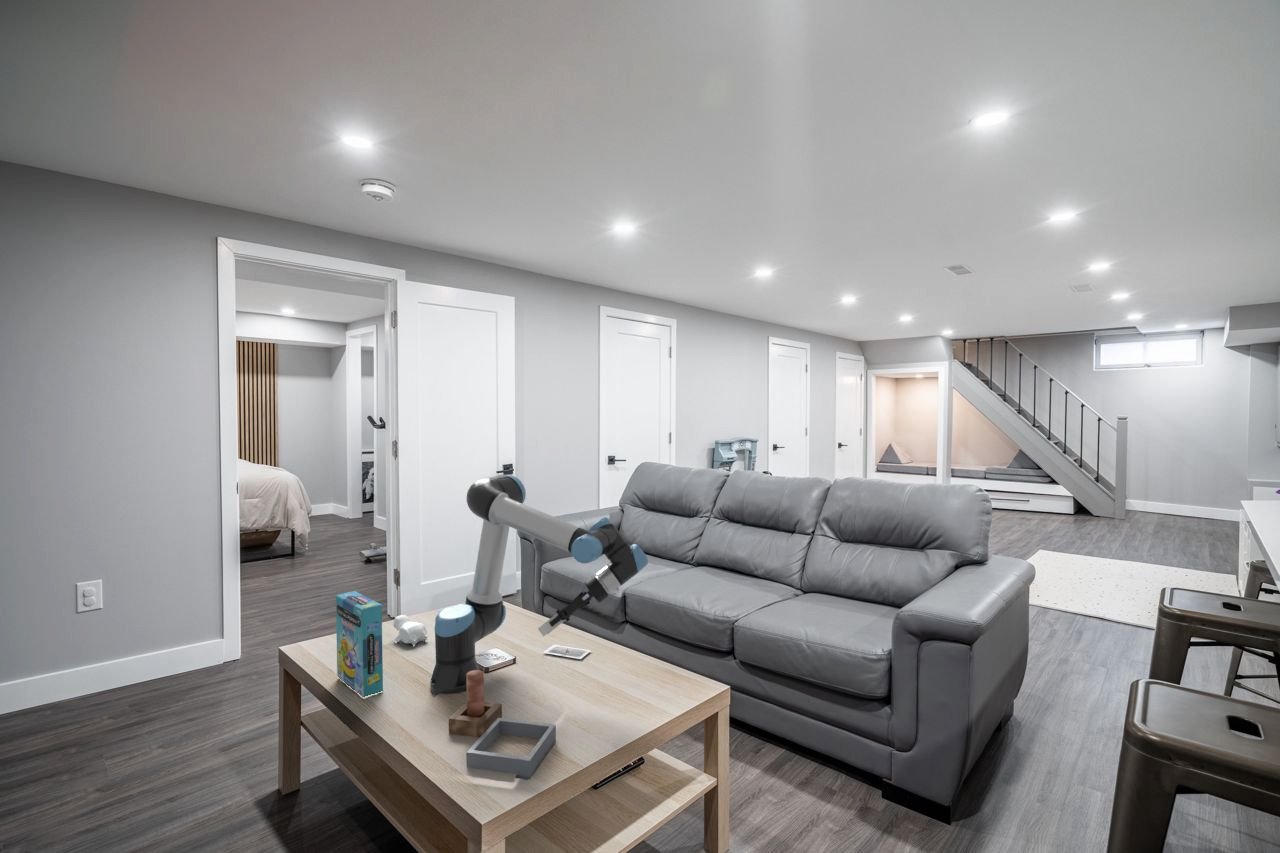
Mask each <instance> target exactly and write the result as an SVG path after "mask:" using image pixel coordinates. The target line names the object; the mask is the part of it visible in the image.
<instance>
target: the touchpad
mask: <svg viewBox="0 0 1280 853" xmlns="http://www.w3.org/2000/svg"><path fill="white" fill-rule="evenodd" d="M591 651H592V650H590V649H583V648H578V647H572V646H566V645H559V644H553V645H552V646H550V647H548V648H547V649H546V650H544V651H543V652H542V654H548V655H555V656H560V657H566V658H572V659H577V660H582V659H583V658H584V657H585V656H586V655H588V654H589V653H591Z"/></svg>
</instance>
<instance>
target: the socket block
mask: <svg viewBox="0 0 1280 853" xmlns="http://www.w3.org/2000/svg"><path fill="white" fill-rule="evenodd" d="M502 711H503V704H502V703H498V702H490V701H489V702H488V701H484V715H483V716H482V717H481V718H478V717H469V716H467V701H465V703H464V704H462V705H461V707H459V708H458V709H457V710H456V711H455V712H454V713H453V714H451V715H450V716H449V717H448V734H449V735H456V736H463V737H470V738H478V739H479V738H480V737H481V736H482V735H483V734H484V733H485V732H486V730H487V729H488V728H489V727H490V726H491V725H492V724H493V723H494V722H495V721H496V720H497V719H498V718H503V712H502Z"/></svg>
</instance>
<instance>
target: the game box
mask: <svg viewBox="0 0 1280 853" xmlns="http://www.w3.org/2000/svg"><path fill="white" fill-rule="evenodd" d="M335 604H336V605H335V606H336V607H335V609H336V611H335V612H336V613H335V614H336V616H335V617H336V618H335V620H336V677H337V676H338V677H339V678H340V679H341V680H342V681H344V682H345V683H346V684H347V685H348V686H350V687H351V688H352V689H353V690H355V691H356V692H357V693H359V694H360V695H361V696H362V697H365V696H368V695H371V694H375V693H378V692H381V691H383V692H384V684H383V683H384V680H383V679H384V678H383V677H384V674H383V673H384V672H383V671H384V670H383V665H384V664H383V604H382V603H379V602H377V601H375V600H373V599H371V598H370V597H367V596H366V595H363V594H361V593H360V592H357V591H355V590H354V591H349V592H348V591H347V592H344V593H340V594H336V595H335Z"/></svg>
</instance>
